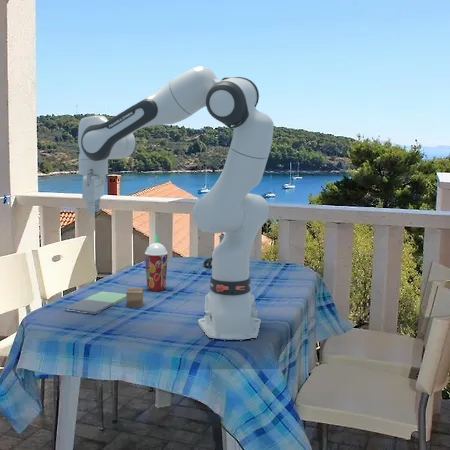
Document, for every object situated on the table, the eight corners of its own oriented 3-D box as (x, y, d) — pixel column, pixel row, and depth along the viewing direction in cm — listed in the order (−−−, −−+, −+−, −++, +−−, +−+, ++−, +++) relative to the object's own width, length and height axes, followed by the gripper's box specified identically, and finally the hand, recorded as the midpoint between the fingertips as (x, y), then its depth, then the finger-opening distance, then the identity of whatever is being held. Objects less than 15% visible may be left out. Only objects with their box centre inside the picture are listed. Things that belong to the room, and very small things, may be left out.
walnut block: (141, 307, 188) (141, 292, 187) (126, 307, 188) (126, 292, 187) (143, 302, 193) (143, 288, 192) (128, 302, 193) (127, 288, 192)
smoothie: (172, 289, 211) (172, 235, 208) (154, 293, 205) (154, 238, 202) (157, 285, 216) (157, 232, 213) (140, 289, 210) (139, 235, 207)
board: (95, 315, 178) (95, 311, 178) (65, 311, 182) (64, 308, 182) (129, 297, 199) (129, 294, 199) (101, 294, 203) (101, 291, 202)
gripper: (98, 170, 167) (99, 217, 169) (108, 167, 187) (108, 209, 189) (76, 170, 167) (77, 217, 169) (88, 167, 187) (89, 209, 189)
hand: (94, 213), depth 179 cm, fingers open, 8 cm apart
